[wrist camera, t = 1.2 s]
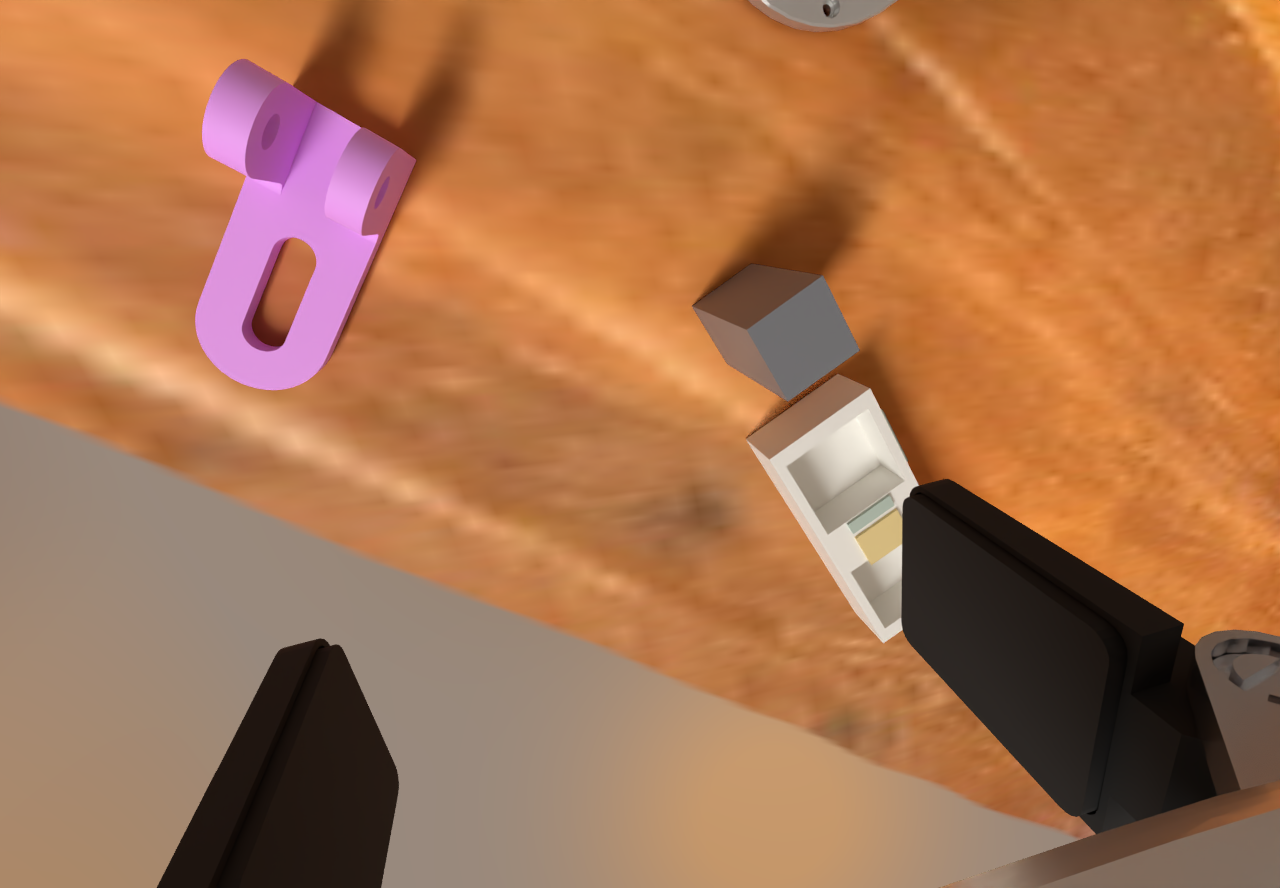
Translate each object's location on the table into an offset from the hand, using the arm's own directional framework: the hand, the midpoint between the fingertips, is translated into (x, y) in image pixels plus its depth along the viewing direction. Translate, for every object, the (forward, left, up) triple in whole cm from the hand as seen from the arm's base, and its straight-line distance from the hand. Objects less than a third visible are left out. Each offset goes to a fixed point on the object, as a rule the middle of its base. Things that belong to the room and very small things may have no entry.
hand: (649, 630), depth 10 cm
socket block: (-10, +20, -25) cm, 33 cm away
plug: (-10, +5, -25) cm, 27 cm away
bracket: (+7, -10, -25) cm, 28 cm away
